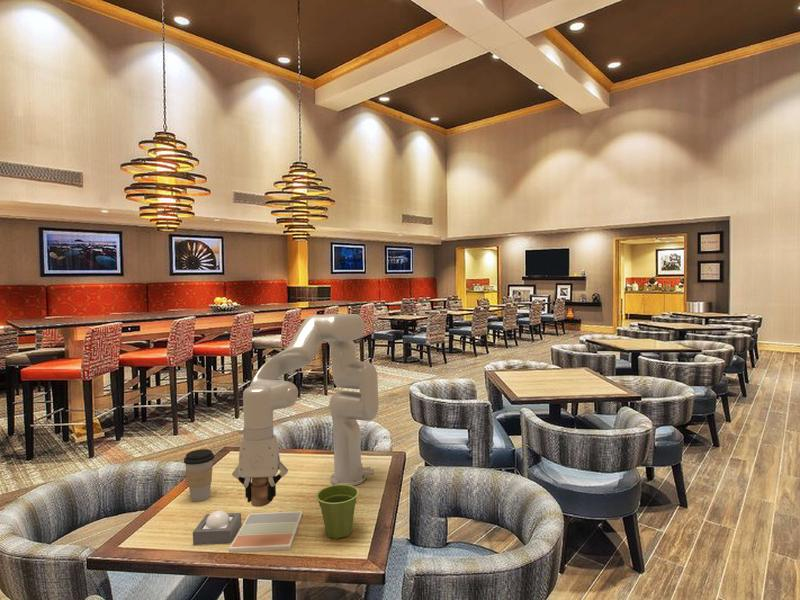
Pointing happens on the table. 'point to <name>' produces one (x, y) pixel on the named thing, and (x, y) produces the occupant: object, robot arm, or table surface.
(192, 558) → the table surface
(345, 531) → the plant pot
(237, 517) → the dome base
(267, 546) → the game board
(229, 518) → the pop dome
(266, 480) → the walnut pawn
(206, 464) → the coffee cup
